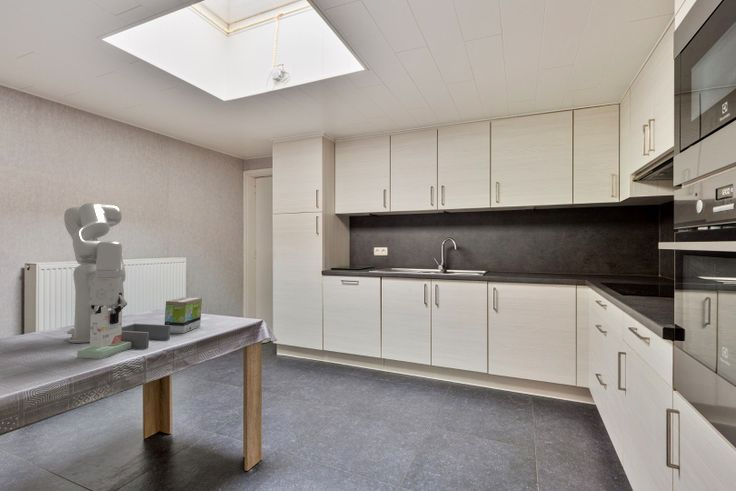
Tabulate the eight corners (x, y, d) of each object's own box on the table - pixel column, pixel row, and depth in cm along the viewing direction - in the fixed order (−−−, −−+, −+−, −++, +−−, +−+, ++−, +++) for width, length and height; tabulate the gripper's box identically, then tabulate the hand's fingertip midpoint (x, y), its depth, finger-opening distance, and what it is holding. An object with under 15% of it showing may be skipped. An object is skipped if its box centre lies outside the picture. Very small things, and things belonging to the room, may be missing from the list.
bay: (107, 346, 135) (107, 330, 135) (134, 337, 149) (134, 323, 149) (146, 348, 134) (146, 332, 134) (169, 339, 147) (170, 325, 148)
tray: (77, 357, 121) (77, 350, 121) (108, 346, 134) (108, 340, 134) (102, 358, 120) (102, 351, 120) (131, 348, 133) (131, 341, 133)
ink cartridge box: (110, 340, 132) (112, 302, 132) (121, 341, 131) (123, 303, 131) (88, 346, 123) (90, 306, 123) (100, 348, 122) (101, 306, 122)
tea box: (184, 333, 157) (186, 301, 157) (163, 333, 157) (164, 301, 158) (201, 326, 172) (202, 297, 173) (181, 325, 172) (182, 296, 173)
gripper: (78, 274, 124) (76, 324, 124) (121, 276, 123) (119, 326, 123) (96, 273, 132) (94, 320, 132) (137, 274, 130) (135, 322, 130)
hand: (106, 322), depth 127 cm, fingers closed on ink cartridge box, 5 cm apart
